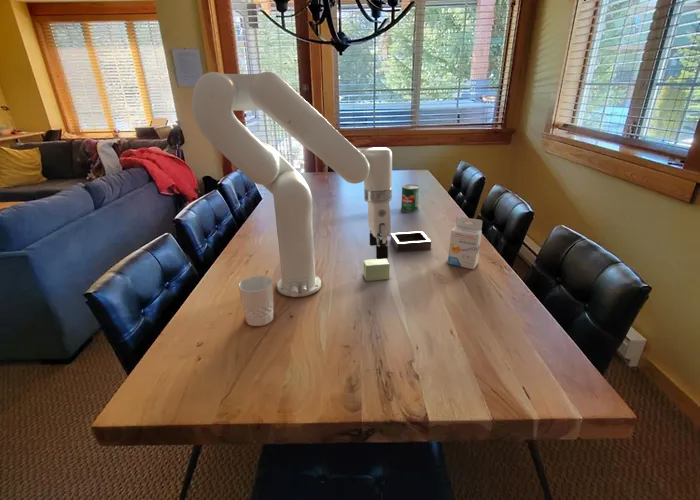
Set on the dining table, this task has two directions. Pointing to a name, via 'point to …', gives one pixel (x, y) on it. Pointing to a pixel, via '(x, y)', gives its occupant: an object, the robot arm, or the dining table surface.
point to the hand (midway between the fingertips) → (378, 251)
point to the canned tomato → (410, 198)
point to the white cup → (257, 300)
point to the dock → (410, 241)
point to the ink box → (465, 243)
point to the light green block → (376, 269)
